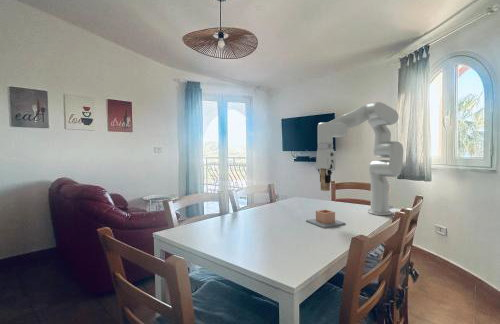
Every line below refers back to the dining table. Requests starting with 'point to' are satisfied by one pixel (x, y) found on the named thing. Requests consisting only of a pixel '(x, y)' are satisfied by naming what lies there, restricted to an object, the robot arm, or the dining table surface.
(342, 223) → the square socket base
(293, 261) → the dining table surface
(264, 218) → the dining table surface
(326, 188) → the stick
